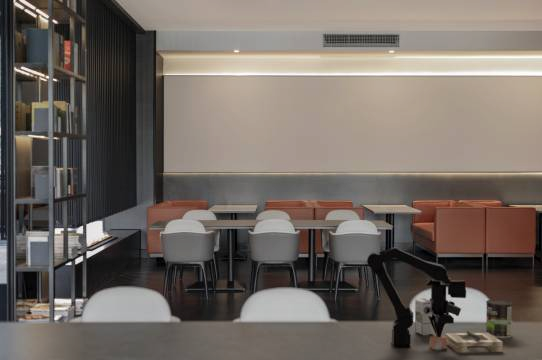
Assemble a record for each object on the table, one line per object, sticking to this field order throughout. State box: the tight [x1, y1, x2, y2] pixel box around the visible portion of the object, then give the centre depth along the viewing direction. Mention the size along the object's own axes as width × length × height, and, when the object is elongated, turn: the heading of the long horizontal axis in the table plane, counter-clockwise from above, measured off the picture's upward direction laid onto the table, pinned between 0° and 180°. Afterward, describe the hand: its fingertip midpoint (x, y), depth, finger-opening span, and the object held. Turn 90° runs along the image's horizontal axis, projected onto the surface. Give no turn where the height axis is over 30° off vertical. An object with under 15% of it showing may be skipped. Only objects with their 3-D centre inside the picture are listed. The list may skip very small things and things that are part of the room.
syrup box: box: [414, 298, 434, 336], centre depth 279 cm, size 6×6×14 cm
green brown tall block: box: [485, 299, 513, 339], centre depth 277 cm, size 10×10×14 cm
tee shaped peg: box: [429, 334, 448, 350], centre depth 257 cm, size 6×3×7 cm, turn 94°
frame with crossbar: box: [444, 330, 504, 354], centre depth 258 cm, size 18×14×6 cm
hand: (438, 336), depth 257 cm, fingers closed on tee shaped peg, 2 cm apart
